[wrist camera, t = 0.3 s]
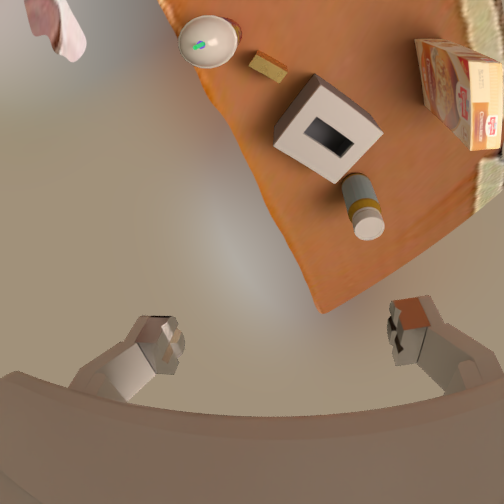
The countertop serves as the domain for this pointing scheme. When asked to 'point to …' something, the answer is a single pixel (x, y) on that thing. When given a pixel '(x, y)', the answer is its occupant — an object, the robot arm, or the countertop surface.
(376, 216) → the bottle
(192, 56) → the smoothie
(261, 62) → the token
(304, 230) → the countertop surface
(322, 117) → the coin box
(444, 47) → the coffeecake box
